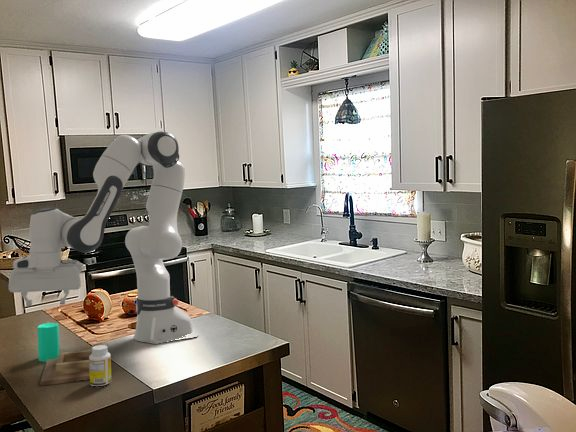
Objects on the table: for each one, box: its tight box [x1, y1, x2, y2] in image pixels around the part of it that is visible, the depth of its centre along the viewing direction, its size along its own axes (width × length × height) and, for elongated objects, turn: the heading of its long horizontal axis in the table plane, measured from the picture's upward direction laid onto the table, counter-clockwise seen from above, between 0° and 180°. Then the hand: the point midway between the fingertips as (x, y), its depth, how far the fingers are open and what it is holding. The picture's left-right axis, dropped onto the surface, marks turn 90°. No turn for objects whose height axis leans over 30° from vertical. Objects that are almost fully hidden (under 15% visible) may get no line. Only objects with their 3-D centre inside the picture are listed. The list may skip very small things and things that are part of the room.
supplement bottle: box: [89, 344, 112, 387], centre depth 141 cm, size 6×6×10 cm
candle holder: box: [39, 349, 92, 387], centre depth 151 cm, size 18×18×4 cm
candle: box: [37, 322, 61, 363], centre depth 161 cm, size 6×6×12 cm
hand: (46, 305), depth 160 cm, fingers open, 8 cm apart
